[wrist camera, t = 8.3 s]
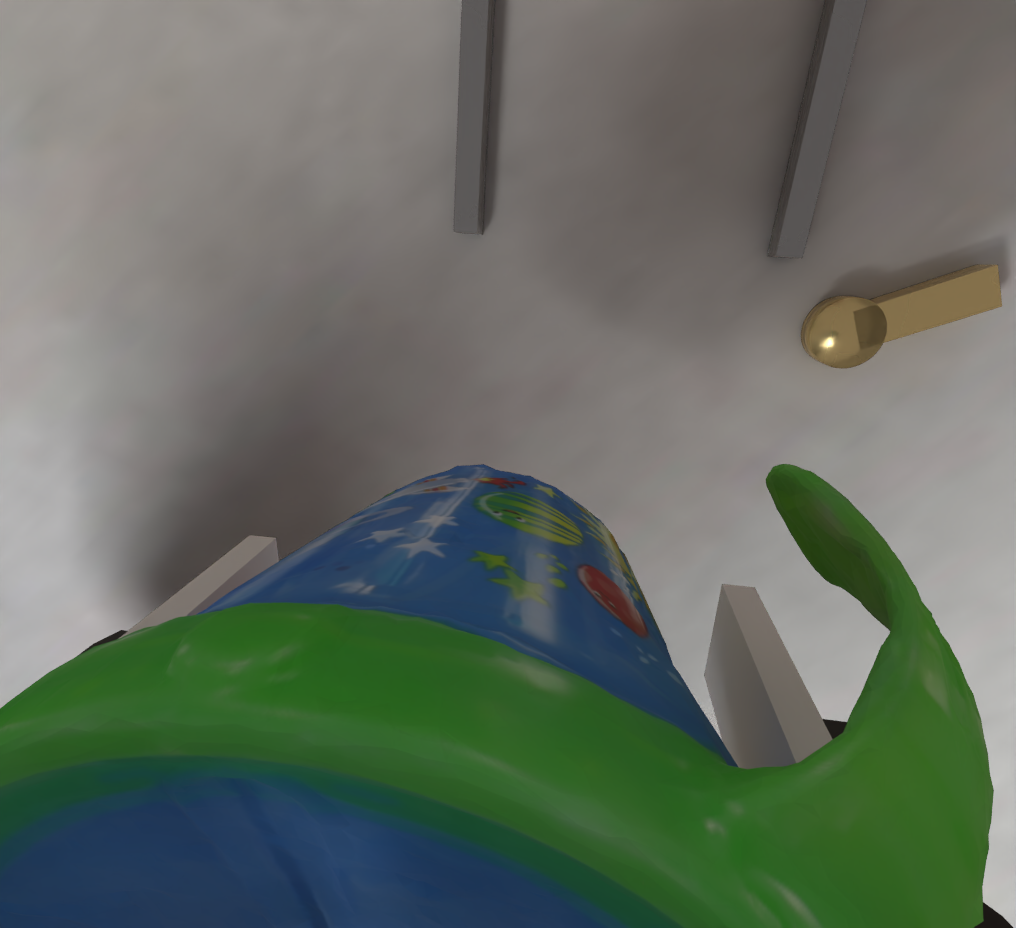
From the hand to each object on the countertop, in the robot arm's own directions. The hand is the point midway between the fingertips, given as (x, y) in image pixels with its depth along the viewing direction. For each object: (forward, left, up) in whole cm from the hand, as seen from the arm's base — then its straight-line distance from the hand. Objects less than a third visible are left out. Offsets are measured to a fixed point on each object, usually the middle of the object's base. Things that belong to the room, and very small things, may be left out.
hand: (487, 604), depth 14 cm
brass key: (+15, +8, -14) cm, 21 cm away
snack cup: (0, 0, -1) cm, 1 cm away
